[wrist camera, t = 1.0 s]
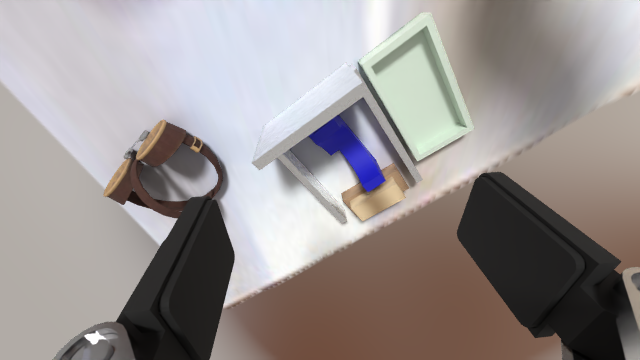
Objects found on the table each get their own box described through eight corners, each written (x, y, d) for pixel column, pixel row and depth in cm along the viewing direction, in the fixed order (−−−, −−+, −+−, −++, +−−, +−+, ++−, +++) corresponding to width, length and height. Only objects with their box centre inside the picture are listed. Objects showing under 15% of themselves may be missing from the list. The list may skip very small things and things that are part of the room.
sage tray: (421, 12, 29) (431, 13, 27) (464, 121, 37) (474, 128, 35) (357, 61, 31) (361, 65, 29) (411, 153, 39) (417, 161, 37)
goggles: (163, 102, 32) (141, 150, 26) (244, 155, 41) (244, 201, 34) (106, 169, 38) (75, 224, 31) (189, 204, 46) (179, 252, 39)
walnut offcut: (392, 161, 41) (397, 169, 39) (403, 179, 43) (409, 188, 41) (341, 191, 44) (343, 200, 42) (354, 207, 46) (356, 216, 44)
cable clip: (304, 123, 36) (304, 142, 31) (328, 102, 34) (333, 119, 29) (352, 174, 41) (359, 197, 36) (375, 159, 40) (385, 180, 35)
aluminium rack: (349, 59, 31) (367, 78, 23) (415, 169, 41) (443, 209, 33) (260, 128, 35) (248, 165, 27) (339, 212, 46) (348, 257, 37)
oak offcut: (392, 176, 39) (396, 183, 38) (401, 190, 41) (405, 197, 39) (349, 201, 42) (351, 209, 40) (360, 213, 43) (362, 221, 42)
